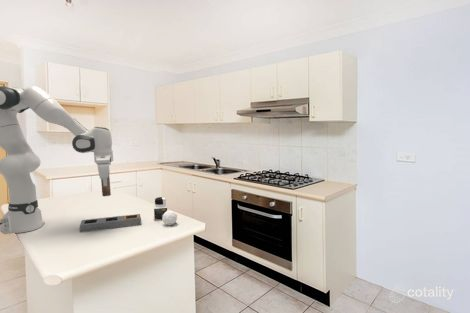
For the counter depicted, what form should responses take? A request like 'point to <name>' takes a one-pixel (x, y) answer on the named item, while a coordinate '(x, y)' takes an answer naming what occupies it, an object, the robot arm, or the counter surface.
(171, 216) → the ball
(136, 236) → the counter surface
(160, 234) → the counter surface
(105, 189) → the walnut peg
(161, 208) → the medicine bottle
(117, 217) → the rectangular metal frame
